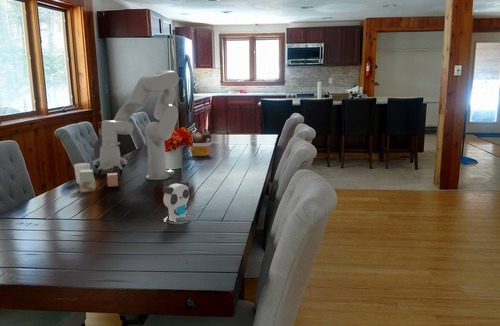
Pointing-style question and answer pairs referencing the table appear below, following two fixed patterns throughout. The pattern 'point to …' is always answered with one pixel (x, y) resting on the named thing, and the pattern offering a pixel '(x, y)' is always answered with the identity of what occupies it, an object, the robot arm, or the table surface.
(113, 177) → the terracotta block
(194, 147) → the bucket of meat
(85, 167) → the white cup
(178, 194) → the panda figurine
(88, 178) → the sage top block
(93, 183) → the beech base block
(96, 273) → the table surface
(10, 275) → the table surface
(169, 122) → the robot arm
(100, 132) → the liquor
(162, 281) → the table surface
